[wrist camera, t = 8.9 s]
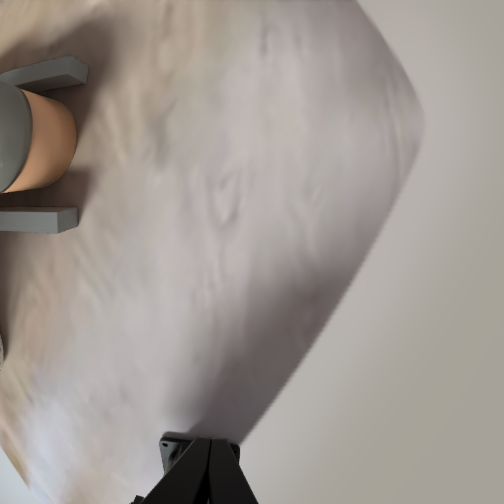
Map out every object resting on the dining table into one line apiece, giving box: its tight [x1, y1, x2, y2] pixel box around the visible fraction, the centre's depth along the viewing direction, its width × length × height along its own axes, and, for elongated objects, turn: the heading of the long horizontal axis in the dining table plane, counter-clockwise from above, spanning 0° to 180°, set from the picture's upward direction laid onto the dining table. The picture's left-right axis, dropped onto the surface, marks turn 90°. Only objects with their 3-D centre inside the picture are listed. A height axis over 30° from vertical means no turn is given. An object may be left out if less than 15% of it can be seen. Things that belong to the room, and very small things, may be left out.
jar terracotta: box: [0, 82, 77, 194], centre depth 14 cm, size 6×6×6 cm
